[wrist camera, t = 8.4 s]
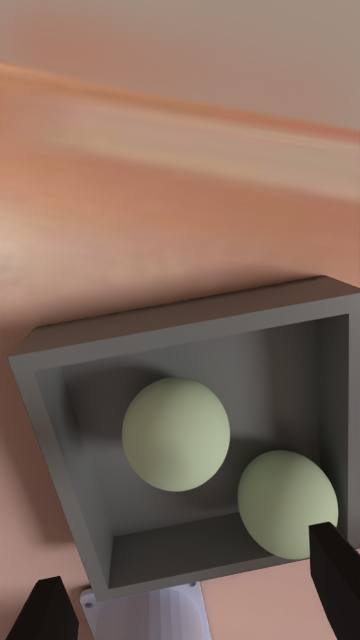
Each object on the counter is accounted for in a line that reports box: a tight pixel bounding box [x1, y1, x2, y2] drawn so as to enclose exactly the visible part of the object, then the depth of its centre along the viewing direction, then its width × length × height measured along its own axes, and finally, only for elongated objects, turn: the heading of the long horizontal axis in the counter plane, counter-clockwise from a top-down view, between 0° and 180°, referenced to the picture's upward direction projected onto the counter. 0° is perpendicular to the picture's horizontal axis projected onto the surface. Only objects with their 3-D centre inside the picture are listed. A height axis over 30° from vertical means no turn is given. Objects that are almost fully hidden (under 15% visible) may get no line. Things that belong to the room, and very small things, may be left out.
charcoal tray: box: [7, 275, 360, 602], centre depth 17 cm, size 15×15×4 cm
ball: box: [238, 450, 338, 559], centre depth 18 cm, size 5×5×5 cm
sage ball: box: [122, 377, 230, 491], centre depth 16 cm, size 5×5×5 cm
